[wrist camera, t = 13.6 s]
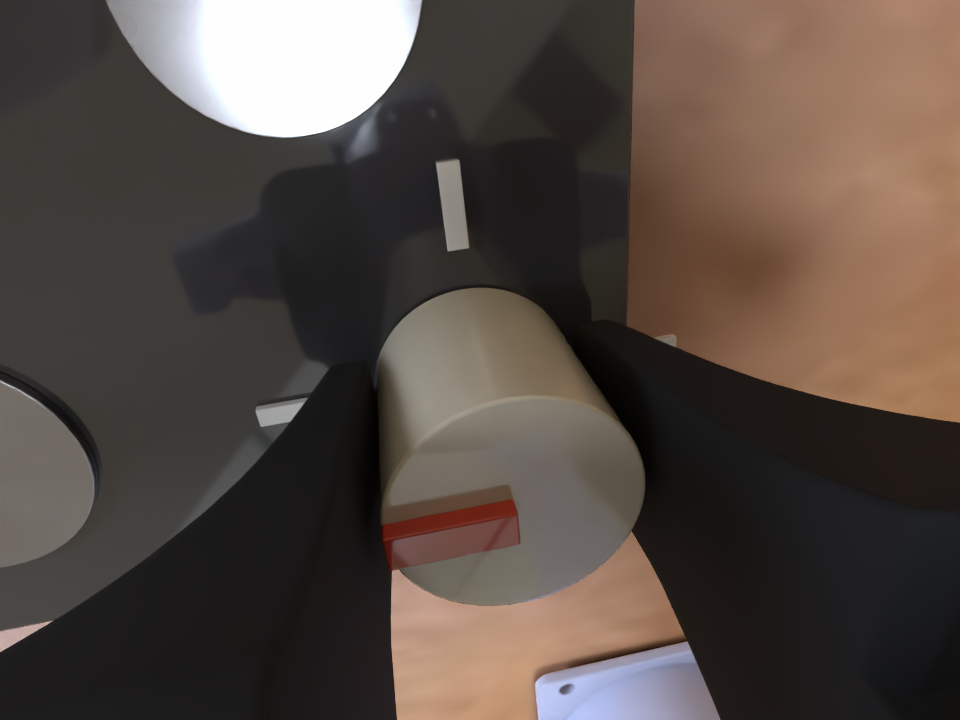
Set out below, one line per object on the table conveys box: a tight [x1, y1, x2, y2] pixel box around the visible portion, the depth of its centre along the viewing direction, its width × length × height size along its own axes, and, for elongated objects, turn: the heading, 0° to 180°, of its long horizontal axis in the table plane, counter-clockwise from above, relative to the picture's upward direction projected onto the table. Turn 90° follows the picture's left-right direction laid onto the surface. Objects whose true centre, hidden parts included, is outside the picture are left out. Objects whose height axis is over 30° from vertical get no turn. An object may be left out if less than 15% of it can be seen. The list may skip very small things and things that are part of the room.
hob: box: [0, 0, 677, 631], centre depth 10 cm, size 17×14×3 cm
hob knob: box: [375, 288, 645, 606], centre depth 9 cm, size 4×4×4 cm
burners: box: [0, 0, 423, 568], centre depth 8 cm, size 12×12×1 cm
